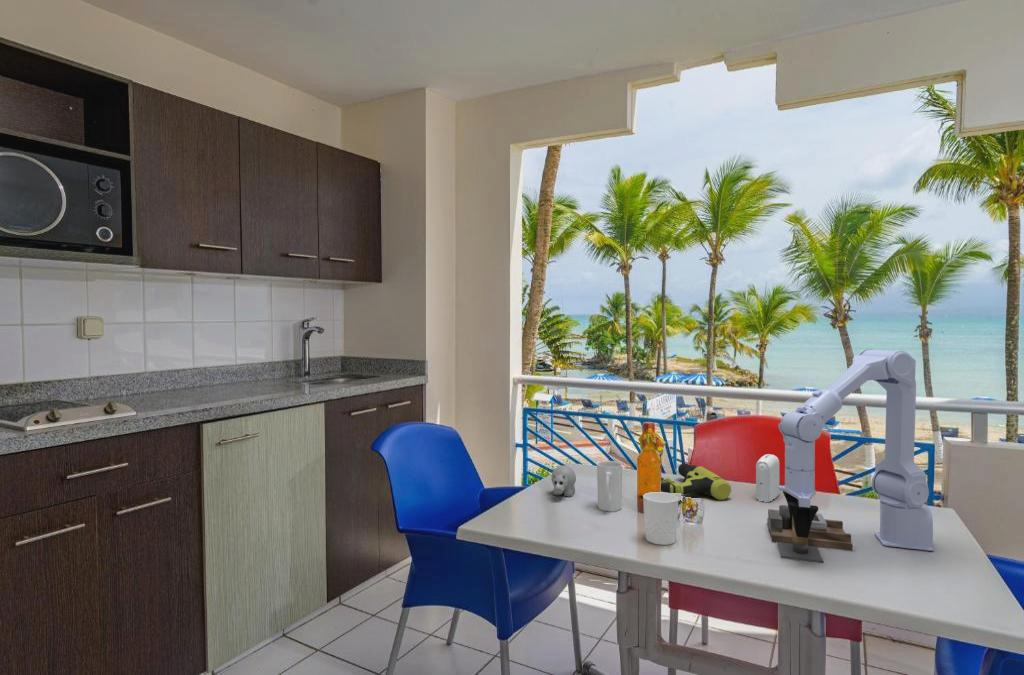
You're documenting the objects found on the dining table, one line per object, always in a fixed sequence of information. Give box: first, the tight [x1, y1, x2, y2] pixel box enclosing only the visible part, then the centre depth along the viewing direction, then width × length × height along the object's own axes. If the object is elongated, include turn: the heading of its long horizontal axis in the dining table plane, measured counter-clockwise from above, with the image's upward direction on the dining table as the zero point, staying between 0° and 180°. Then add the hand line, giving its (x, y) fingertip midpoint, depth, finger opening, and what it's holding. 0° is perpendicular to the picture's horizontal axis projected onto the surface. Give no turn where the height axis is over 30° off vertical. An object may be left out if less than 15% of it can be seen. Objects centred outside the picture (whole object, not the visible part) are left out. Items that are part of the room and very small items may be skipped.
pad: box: [776, 542, 824, 564], centre depth 120 cm, size 8×8×1 cm
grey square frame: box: [790, 512, 827, 531], centre depth 130 cm, size 7×7×3 cm
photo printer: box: [755, 453, 780, 503], centre depth 159 cm, size 10×4×12 cm, turn 138°
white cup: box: [642, 492, 679, 546], centre depth 128 cm, size 8×8×10 cm
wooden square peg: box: [792, 516, 808, 554], centre depth 120 cm, size 3×3×9 cm
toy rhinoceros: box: [550, 465, 577, 498], centre depth 161 cm, size 7×12×8 cm, turn 161°
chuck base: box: [766, 504, 853, 552], centre depth 130 cm, size 16×12×6 cm
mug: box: [596, 460, 623, 512], centre depth 150 cm, size 10×7×12 cm, turn 164°
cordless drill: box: [660, 462, 732, 501], centre depth 166 cm, size 7×25×25 cm
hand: (799, 530), depth 120 cm, fingers open, 7 cm apart
